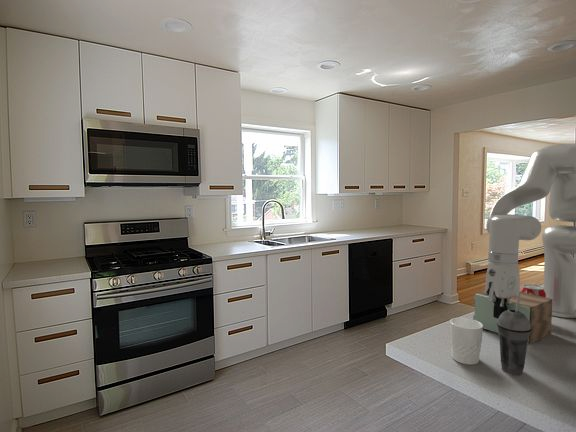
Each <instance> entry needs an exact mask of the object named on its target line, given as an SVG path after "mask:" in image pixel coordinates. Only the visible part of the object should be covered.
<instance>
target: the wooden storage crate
mask: <svg viewBox="0 0 576 432" xmlns="http://www.w3.org/2000/svg"><path fill="white" fill-rule="evenodd" d="M519 293H521V295H520V302H519V305H523V306H527V307H530V325H531V331H530V336H529V342H528V344H530V345H531V344H532V343H535V342H537V341H538V340H541V339H543V338H545V337H546V336H549V335H551V334H552V318H553V316H552V300H553V299H550V298H545V297H541V296H537V295H532V294H528V293H524V292H521V291H519ZM477 294H481V295H485V296H489V295H487V294H486V291H485V290H484V291H480V292H478V293H477ZM517 298H518V295H516V296H513V297H512V298H510V300H509V302H512V303H515V304H517Z"/></svg>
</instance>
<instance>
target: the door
mask: <svg viewBox="0 0 576 432" xmlns="http://www.w3.org/2000/svg"><path fill="white" fill-rule="evenodd" d="M488 297H489V296H485V295H481V294H478V293H475V294H474V298H473V305H474V315H473V317H472V319H473V320H476V321H479V322H480V323H482V324H483V329H484V330H488V331H491V332H494V333H497V334H499V332H498V326H497V322H498V319H497V318H494V317H493V311H494V305H493V302H492V301H489V300H488ZM516 305H517V304H515V303H512V302H509V305H508V306H507V307H508V309H507V310H516ZM518 311H520V312H522V313H523V314H524V315H525V316H526V317H527V318H528V320H529V322H530V307H527V306H523V305H519V308H518ZM528 342H529V338H528Z"/></svg>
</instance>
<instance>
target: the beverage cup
mask: <svg viewBox="0 0 576 432" xmlns="http://www.w3.org/2000/svg"><path fill="white" fill-rule="evenodd" d="M520 295H521V293H518V298H517V305H516V310H507V311H504V312H503V313H502V314H501V315H500V316H499V318H498V322H497V326H498V332H499V333H498V338H499V339H498V340H499V353H500V363H501V370H502V372H504V373H506V374H508V375H512V376H517V377H519V376H522V375H523V373H524V369H525V363H526V357H527V356H526V355H527V350H528V344H529V343H528V338H529V336H530V331H531V325H530V322H529V320H528V318H527V317H526V316H525V315H524V314H523V313H522V312H520V311H518V308H519V302H520Z"/></svg>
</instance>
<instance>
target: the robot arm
mask: <svg viewBox="0 0 576 432" xmlns="http://www.w3.org/2000/svg"><path fill="white" fill-rule="evenodd" d="M548 195H549V198H548V199H549V202H548V213H549V216H550V218H551V220H554V221H557V222H565V223H576V143H565V144H555V145H549V146H545V147H542V148H540V149H537V150H536V151H534V152H533V153H532V154H531V155H530V157H529V160H528V162H527V164H526V166H525V168H524V172H523V174H522V176H521V178H520V180H519V183H518V184H517V185H516V186H515V187H513V188H512V189H510V190H509V191H507V192H506V193H505V194H503V195H502V196H500V197H499V198H498V199H496V201H495V203H494V204H493V206H492V208H491V210H490V213H489V215H488V217H487V221H486V224H485V225H486V226H485V227H486V231H487V233H488V234H489V239H488V253H487V254H488V257H487V258H488V264H487V270H486V274H485V275H486V276H485V285H484V286H485V288H484V289H485V290H484V291H486V294H487V295H489V297H488V300H489V301H492V302H493V305H494V311H493V317H494V318H497V319H498V318H499V316H500V315H501V314H502V313H503V312H504V311H507V309H508V307H507V306H508V305H509V300H510V298H512V297H513V296H516V295H518V293H519V292H520V269H519V267H520V265H519V249H520V248H519V246H520V241H525V242H528V241H532V240H536V239H537V238H538V237H539V236H540V235H542V236H541V238H542V244H543V253H544V265H543V267H544V268H543V286H542V287H543V288H544V291H545V293H546V298H550V299H553V300H552V317H557V318H558V317H559V318H566V319H567V318H568V319H576V259H575V258H574V256H573V255H572V254H575V255H576V225H566V224H565V225H561V224H557V225H555V224H554V225H549V226H547V227H546V228H545V229H543V231H542V223H541V222H540V220H539V219H538V218H537V217H535V216H532V215H521V214H519V215H518V214H509V213H511V211H513V210H515V209H516V208H518V207H521V206H523V205H527V204H530V203H534V202H537V201H539V200H542V199H544V198H546V197H547V196H548ZM541 232H542V234H541Z"/></svg>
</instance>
